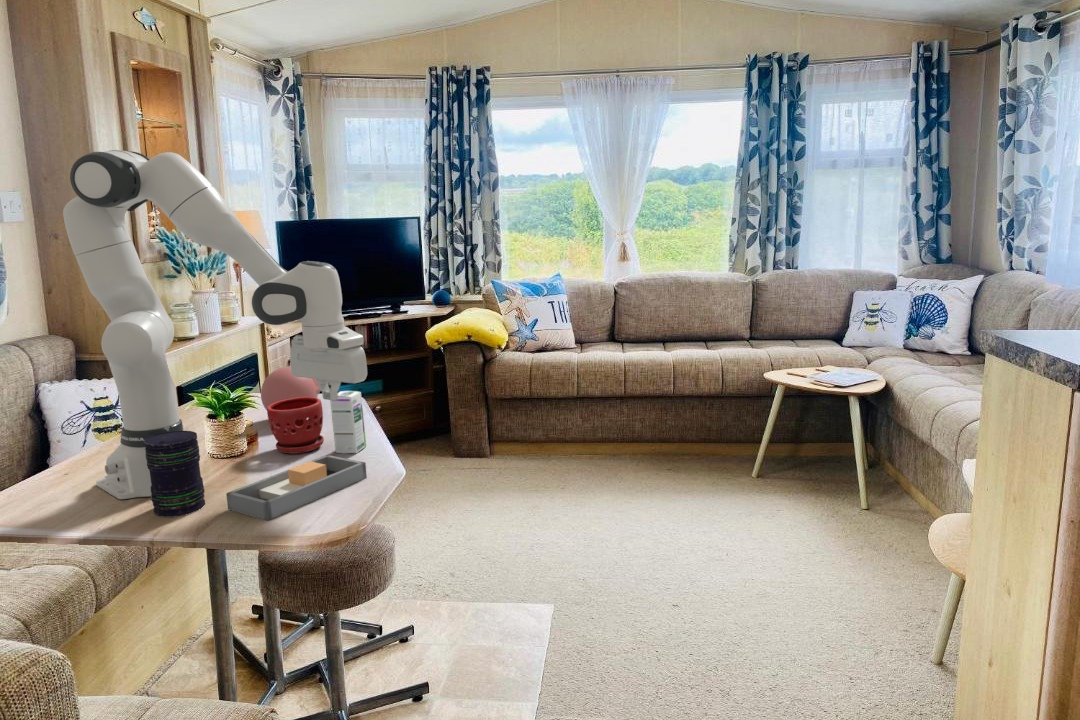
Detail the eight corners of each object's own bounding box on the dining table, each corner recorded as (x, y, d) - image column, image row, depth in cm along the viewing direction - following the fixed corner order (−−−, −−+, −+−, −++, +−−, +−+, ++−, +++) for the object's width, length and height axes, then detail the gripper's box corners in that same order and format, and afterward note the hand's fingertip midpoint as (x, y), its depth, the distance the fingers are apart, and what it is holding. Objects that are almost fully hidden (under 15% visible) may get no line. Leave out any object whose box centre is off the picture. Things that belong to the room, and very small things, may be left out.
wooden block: (289, 483, 167) (287, 469, 167) (310, 474, 172) (309, 461, 172) (305, 486, 165) (304, 473, 164) (327, 477, 170) (325, 464, 169)
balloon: (339, 420, 222) (335, 367, 219) (265, 430, 215) (259, 375, 212) (332, 408, 237) (328, 358, 234) (262, 416, 229) (257, 365, 226)
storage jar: (173, 498, 167) (164, 430, 164) (215, 499, 165) (207, 430, 162) (142, 516, 157) (132, 444, 154) (187, 518, 155) (177, 445, 152)
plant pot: (309, 437, 207) (305, 393, 205) (335, 447, 198) (331, 401, 195) (262, 449, 198) (257, 403, 196) (287, 460, 189) (282, 412, 186)
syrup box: (356, 454, 192) (352, 396, 189) (334, 453, 193) (329, 395, 190) (366, 446, 197) (362, 390, 195) (344, 446, 199) (339, 390, 196)
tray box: (228, 509, 159) (226, 493, 158) (328, 469, 181) (327, 454, 181) (267, 520, 153) (266, 503, 152) (366, 477, 175) (365, 462, 174)
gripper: (280, 336, 172) (286, 397, 175) (347, 342, 161) (353, 407, 164) (302, 331, 177) (308, 391, 180) (369, 337, 167) (374, 400, 169)
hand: (330, 399), depth 172 cm, fingers closed
